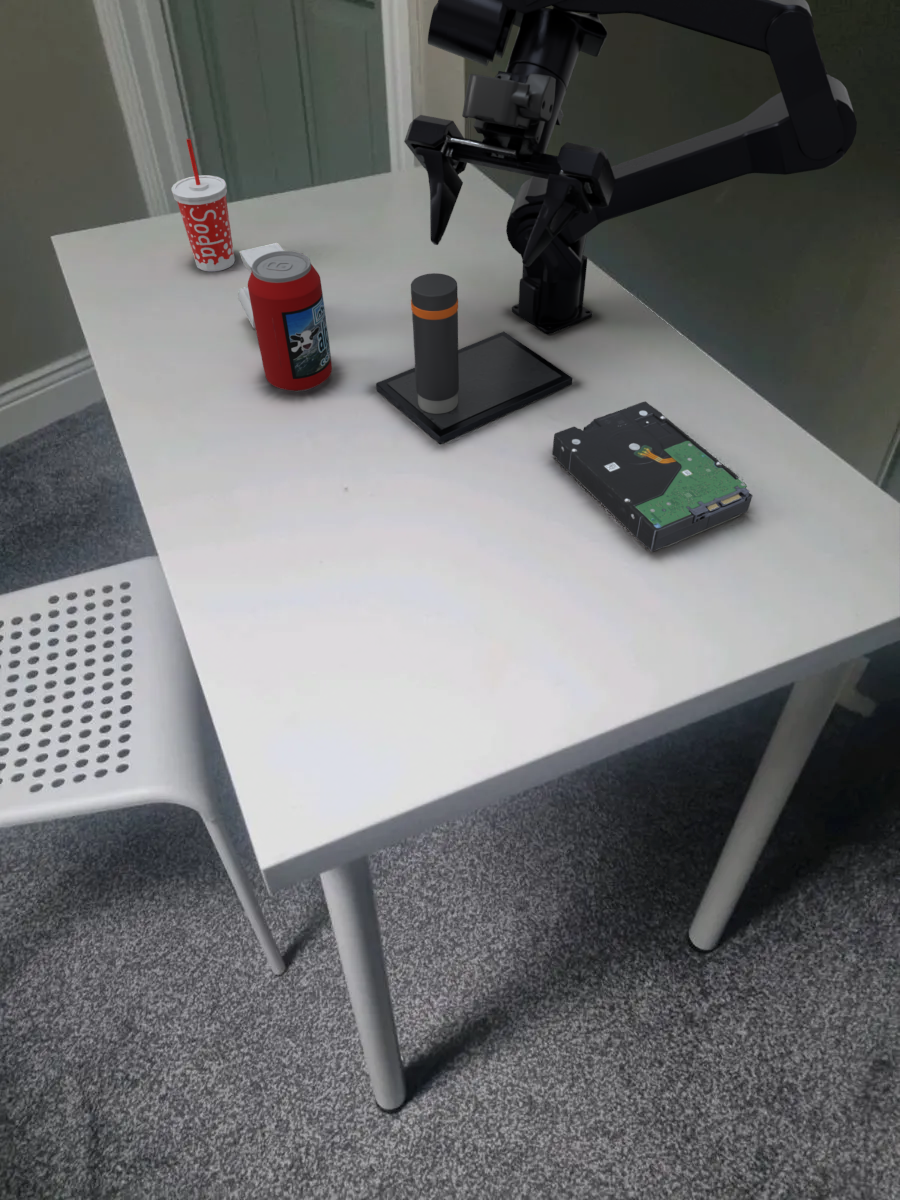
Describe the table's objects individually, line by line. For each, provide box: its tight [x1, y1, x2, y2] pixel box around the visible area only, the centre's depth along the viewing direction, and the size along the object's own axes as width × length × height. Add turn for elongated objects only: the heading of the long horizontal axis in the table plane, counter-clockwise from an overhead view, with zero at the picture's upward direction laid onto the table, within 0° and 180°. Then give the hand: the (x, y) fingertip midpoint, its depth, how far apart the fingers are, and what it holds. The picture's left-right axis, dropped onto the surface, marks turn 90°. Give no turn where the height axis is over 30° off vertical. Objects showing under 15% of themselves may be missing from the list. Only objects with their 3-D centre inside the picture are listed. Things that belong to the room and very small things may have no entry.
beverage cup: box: [170, 137, 236, 272], centre depth 102 cm, size 6×6×14 cm
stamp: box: [237, 242, 285, 331], centre depth 94 cm, size 9×7×8 cm
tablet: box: [375, 330, 573, 445], centre depth 88 cm, size 16×11×1 cm
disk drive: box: [551, 401, 753, 552], centre depth 77 cm, size 10×3×15 cm
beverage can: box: [247, 250, 333, 392], centre depth 86 cm, size 7×7×12 cm
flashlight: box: [410, 272, 459, 414], centre depth 81 cm, size 4×4×12 cm
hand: (478, 253), depth 81 cm, fingers open, 9 cm apart
